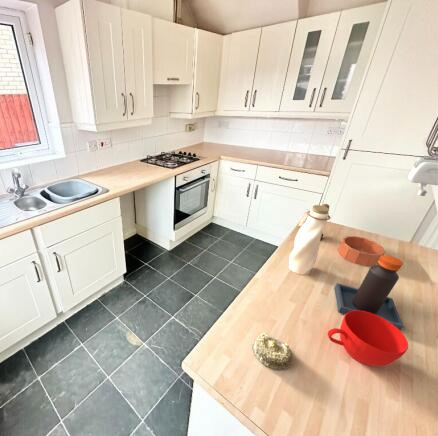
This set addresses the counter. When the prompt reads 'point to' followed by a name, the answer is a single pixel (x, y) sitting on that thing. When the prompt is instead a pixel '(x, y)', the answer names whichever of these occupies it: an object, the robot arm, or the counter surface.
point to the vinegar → (377, 284)
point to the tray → (346, 305)
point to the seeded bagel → (272, 352)
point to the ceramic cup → (370, 338)
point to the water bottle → (308, 240)
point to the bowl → (356, 256)
